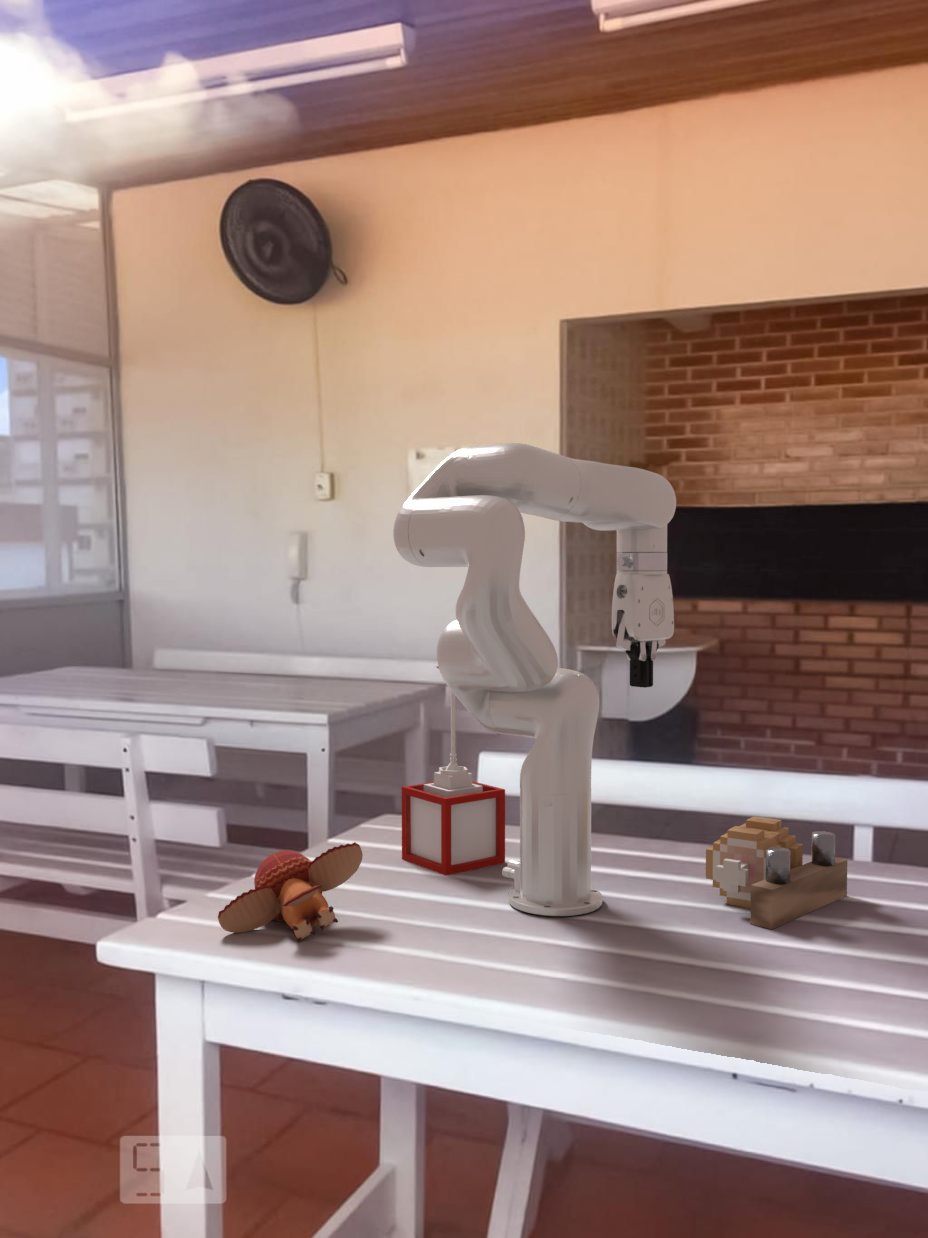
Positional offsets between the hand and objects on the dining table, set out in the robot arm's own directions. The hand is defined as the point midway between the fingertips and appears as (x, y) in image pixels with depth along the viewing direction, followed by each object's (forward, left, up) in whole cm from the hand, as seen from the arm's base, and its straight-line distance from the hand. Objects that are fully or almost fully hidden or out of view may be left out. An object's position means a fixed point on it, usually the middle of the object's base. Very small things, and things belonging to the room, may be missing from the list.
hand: (641, 686), depth 164 cm
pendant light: (-21, -19, -27) cm, 40 cm away
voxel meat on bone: (+21, -3, -27) cm, 35 cm away
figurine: (-13, -55, -28) cm, 63 cm away
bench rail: (+28, -3, -27) cm, 39 cm away
